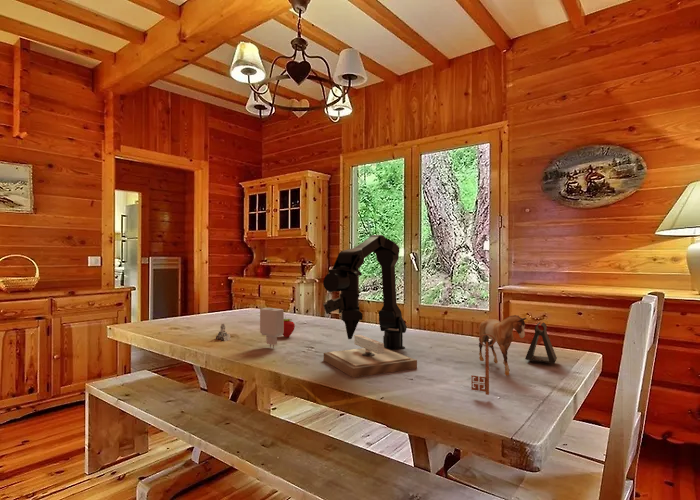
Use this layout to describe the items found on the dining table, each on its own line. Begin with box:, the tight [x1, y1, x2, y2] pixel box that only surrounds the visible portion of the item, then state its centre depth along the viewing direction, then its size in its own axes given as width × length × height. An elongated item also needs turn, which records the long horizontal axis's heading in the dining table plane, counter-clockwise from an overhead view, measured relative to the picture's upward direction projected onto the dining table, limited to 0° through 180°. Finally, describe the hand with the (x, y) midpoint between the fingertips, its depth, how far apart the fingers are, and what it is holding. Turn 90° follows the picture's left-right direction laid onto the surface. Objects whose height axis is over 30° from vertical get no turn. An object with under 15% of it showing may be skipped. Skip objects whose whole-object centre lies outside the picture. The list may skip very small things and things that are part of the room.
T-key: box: [353, 334, 384, 354], centre depth 132 cm, size 16×2×5 cm, turn 26°
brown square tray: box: [323, 347, 418, 379], centre depth 132 cm, size 22×22×3 cm
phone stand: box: [524, 321, 558, 364], centre depth 138 cm, size 9×6×12 cm, turn 58°
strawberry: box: [282, 315, 296, 338], centre depth 174 cm, size 6×8×10 cm
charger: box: [259, 307, 285, 349], centre depth 154 cm, size 5×9×15 cm, turn 52°
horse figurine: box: [478, 314, 528, 376], centre depth 129 cm, size 26×6×17 cm, turn 5°
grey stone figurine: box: [215, 323, 231, 342], centre depth 169 cm, size 9×9×8 cm
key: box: [470, 334, 496, 396], centre depth 103 cm, size 6×1×15 cm, turn 63°
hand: (349, 339), depth 132 cm, fingers closed
